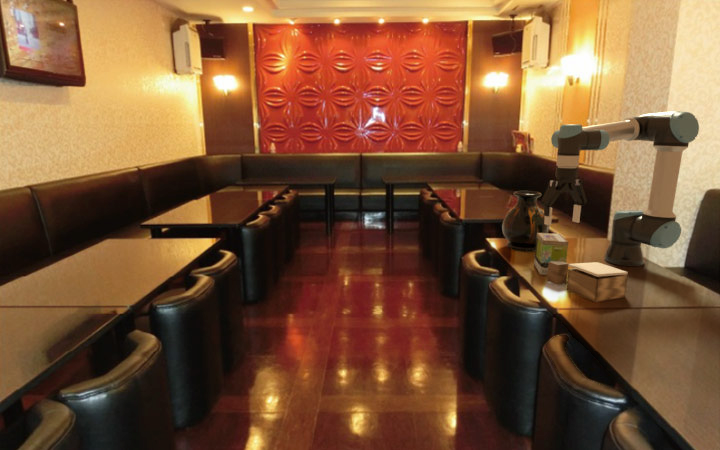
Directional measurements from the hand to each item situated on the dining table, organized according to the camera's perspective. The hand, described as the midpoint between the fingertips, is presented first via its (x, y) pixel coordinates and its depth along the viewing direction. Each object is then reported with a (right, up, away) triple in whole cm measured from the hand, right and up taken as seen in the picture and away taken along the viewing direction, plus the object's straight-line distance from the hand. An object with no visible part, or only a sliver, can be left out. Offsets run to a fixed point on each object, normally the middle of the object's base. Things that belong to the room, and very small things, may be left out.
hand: (561, 223), depth 172 cm
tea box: (+3, -20, +20) cm, 28 cm away
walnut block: (0, -23, +5) cm, 24 cm away
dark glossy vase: (+5, -12, +55) cm, 57 cm away
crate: (+9, -25, -7) cm, 28 cm away
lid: (+9, -17, -9) cm, 21 cm away
